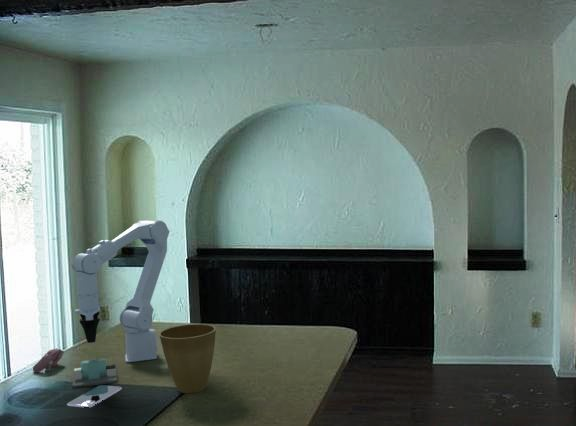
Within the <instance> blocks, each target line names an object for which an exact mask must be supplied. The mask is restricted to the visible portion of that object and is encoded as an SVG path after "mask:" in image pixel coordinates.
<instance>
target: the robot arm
mask: <svg viewBox="0 0 576 426" xmlns="http://www.w3.org/2000/svg"><path fill="white" fill-rule="evenodd" d="M169 234H170V230H169V228H168V226H167V224H166V223H165V222H164V221H163V220H146V219H141V220H139V221H138V222H135V223H133V224H132V225H131V226H130V227H129V228H127V229H126V230H125V231H123V232H121V233H120V234H119V235H118V236H116V237H115V238H113V239H112V240H108V239H105V240H103V239H101V240H100V241H98V244H97V245H94V247H91V248H88V249H86V250H85V253H82V252H81V253H78V254H76V256H75V257H74V258H73V260H72V263H71V264H70V265H71V266H70V267H71V269H72V270H73V271H74V272H75V277H76V286H77V288H76V289H77V298H78V299H77V300H78V308H77V309H76V308H75V309H74V313H75V314H77V313H79V316H80V318H79V324H80V325H81V327H82V329H83V332H84V335H85V339H86V342H87V343H88V344H90V343H92V344H93V343H96V339H97V331H98V325H99V322H100V321H101V319H100V317H99V315H100V311H101V307H100V304H99V303H100V302H99V290H98V289H99V288H98V287H99V286H98V276H97V274H98V271H99V270H100V267H101V266H102V265H104V264H105V263H107V262H108V261H110V260H111V259H113V258H115V257H116V256H117V254H118V251H119V250H120V249H122V248H123V247H126V246H128V245H129V244H131V243H132V242H135V241H136V240H138V239H139V240H140V241H141V243H142V244H143V245H144V246H145V248H147V252H148V253H147V256H146V258H145V262H144V265H143V266H142V267H143V268H142V271H141V275H140V277H139V280H138V282H137V286H136V288H135V292H134V295H133V297H132V298H130V300H129V301H127V302H126V305H125V307H124V309H122V311H121V313H120V314H119V323H120V324H121V326H122V327H123V330H124V334H125V351H126V352H125V353H126V354H125V355H124V359H125V363H132V362H133V363H134V362H142V361H150V360H157V358H158V356H157V355H158V354H157V353H158V345H157V342H156V341H157V340H156V339H157V338H156V337H157V336H156V330H155V328H151V326H152V324H153V314H154V308H153V306H152V304H151V301H152V298H153V294H154V292H155V289H156V286H157V283H158V279H159V277H160V273H161V270H162V268H163V264H164V261H165V259H166V256H167V253H168V238H169Z"/></svg>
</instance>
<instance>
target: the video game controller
mask: <svg viewBox="0 0 576 426" xmlns="http://www.w3.org/2000/svg"><path fill="white" fill-rule="evenodd" d="M64 353H65V352H64V351H63V350H62V349H60V348H53V349H49V350H48V351H47V352H46V353H45V354H44V355H43V356H42V357H41V359H39V360H38V362H36V363H35V365H33V368H32V371H33V373H40V372H41V371H43V370H44V369H45V370H47V371H50V369H51V368H54V367H56V366H58V363H59V362H60V361H61V359H62V358H63V356H64Z"/></svg>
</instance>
